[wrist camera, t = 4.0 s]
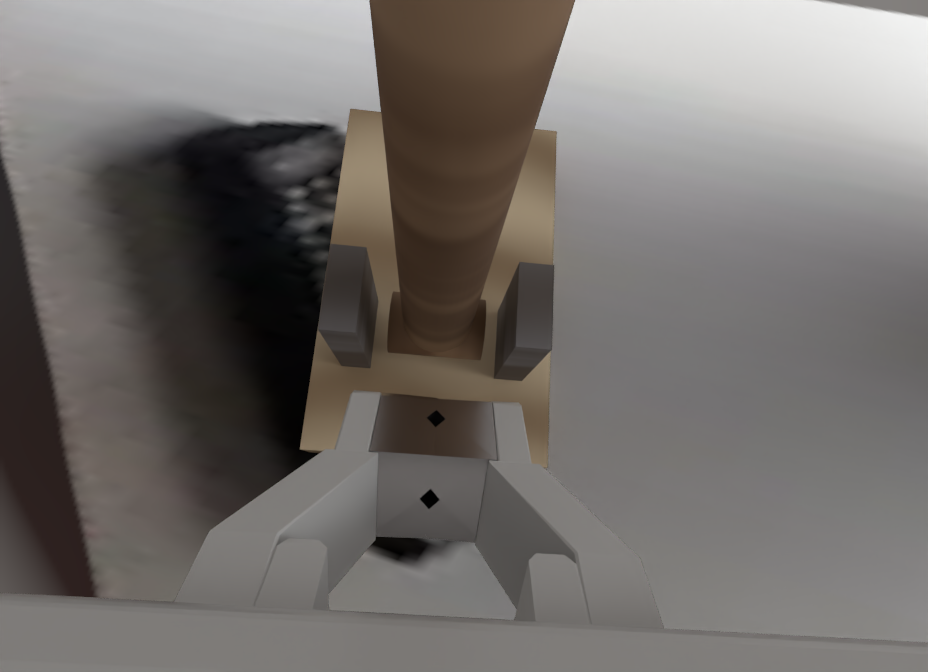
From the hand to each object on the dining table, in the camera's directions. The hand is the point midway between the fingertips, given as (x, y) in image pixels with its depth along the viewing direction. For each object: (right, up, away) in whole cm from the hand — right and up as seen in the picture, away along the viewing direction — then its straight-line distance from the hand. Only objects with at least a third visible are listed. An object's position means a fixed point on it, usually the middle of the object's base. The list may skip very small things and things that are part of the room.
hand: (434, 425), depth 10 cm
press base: (-1, +4, +16) cm, 17 cm away
